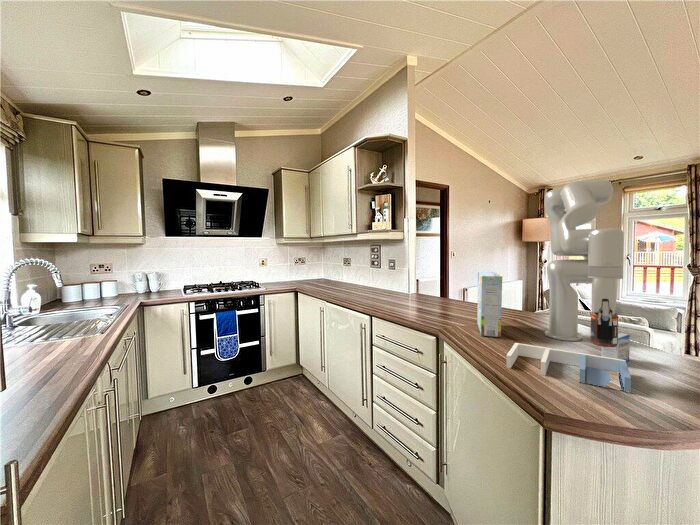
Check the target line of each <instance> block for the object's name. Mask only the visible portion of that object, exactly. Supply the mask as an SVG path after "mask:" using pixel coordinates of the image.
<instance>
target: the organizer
mask: <svg viewBox="0 0 700 525" xmlns="http://www.w3.org/2000/svg"><path fill="white" fill-rule="evenodd" d="M518 357H524V358H531V359H536V360H540V375H541V376H546V375H547V372H548V370H549V366H550V362H552V363H557V364H563V365H569V366H574V365H575V366H574V367H579V383H580V382H581V383H580V384H583V383H585V384H587V383H588V384H587V385H589V384H593V385H592V386H594V385H598V386H597V387H599V386H603V387H605V386H606V385H607V382H608V383H609V381H611V380H612V379H611V378H610V377H609V375H608V373H607V372H609V371H613V372H620V374H619V376H620V375H621V376H620V380H621V379H622V380H621V384H622V383H623V385H622V388H623V387H624V389H623V391H629V392H632V390H631V388H632V386H631V385H632V378H631V372H630V370H629V368H628V364H627V361H626V360H622V359H616V358H609V357H603V356H602V355H597V354H596V355H595V354H589V353H584V352H578V351H577V352H576V351H570V350H564V349H557V348H551V347H545V346H539V345H533V344H527V343H526V344H525V343H520V342H515V343H514V344H513V345H512V347H511V348H510V350H509V351H508V352H507V354H506V359H505V360H506V361H505V363H506V368H507V369H512V367H513V365H514V364H515V362H516V360H517V358H518ZM607 375H608V376H607ZM613 380H614V379H613ZM613 380H612V381H613ZM603 387H602V388H603Z"/></svg>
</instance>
